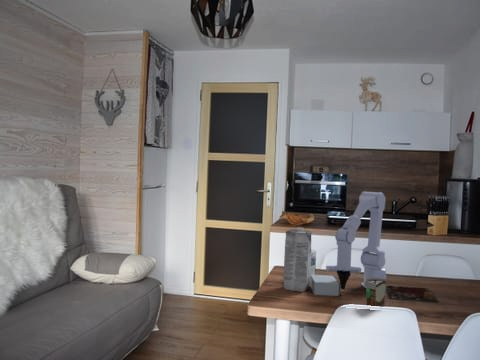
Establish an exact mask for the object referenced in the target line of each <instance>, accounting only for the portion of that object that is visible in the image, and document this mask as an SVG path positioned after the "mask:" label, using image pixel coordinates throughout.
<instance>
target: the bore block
mask: <svg viewBox="0 0 480 360" xmlns="http://www.w3.org/2000/svg"><path fill="white" fill-rule="evenodd" d="M309 287H310V289H311V291H312V293H313V294H314V296H332V297H340V294H341V293H340V281H339V279H337V278H336V276H334V275H325V274H323V275H321V274H315V275H311V278H310V282H309Z"/></svg>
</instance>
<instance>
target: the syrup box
mask: <svg viewBox="0 0 480 360" xmlns="http://www.w3.org/2000/svg"><path fill="white" fill-rule="evenodd" d="M316 261H317V251H316V250H315V249H311V262H310V278H311V275H316V266H317V264H316V263H317V262H316ZM309 283H310V281H309Z"/></svg>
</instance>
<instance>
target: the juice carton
mask: <svg viewBox="0 0 480 360" xmlns="http://www.w3.org/2000/svg"><path fill="white" fill-rule="evenodd" d="M284 239H285V240H284V241H285V242H284V259H283V261H284V262H283V287H284V290H287V291H292V292H299V293H304V292H305V291H306V290H308V288H309V286H310V282H309V281H310V262H311V250H312V232H311V230H304V227H296V229H294V228H293V229H289V230H286V231H285V238H284Z"/></svg>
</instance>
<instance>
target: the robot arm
mask: <svg viewBox="0 0 480 360" xmlns="http://www.w3.org/2000/svg"><path fill="white" fill-rule="evenodd" d="M358 201H359V203H358V205H357V206H356V208H355V211H354V212H353V214H352V215H349V216H348V217H347V219H346V221H345V222H344V224H343V225H342V227H341V228H339V229H337V230H336V232H335V235H334V236H335V237H334V238H335V240H336V245H337V253H336V254H337V256H336V257H337V258H336V260H337V261H336V265H326V266H325V271H326V272H336V274H337V277H338V281H339V283H340V284H341V290H345V288H346V285H347V282H348V280H349V278H350V277H351V273H359V274H361V273H362V268H361V267H359V266H357V267H356V266H351V265H352V245H353V244H352V243H353V242H355V239H356V234H357V231H358V230H359V229H358V228H359V227H360V225H361V223H362V220H361V219H362V218H363V216H364V215H365V214H366V212H368V211H369V212H370V216H369V218H370V219H369V226H368V227H369V228H368V241H367V245H366V246H365V247H364V248H363V249H362V253H361V255H360V262H361V264H362V267H363V282H361V283H360V284H361V286H363V288H365V289H366V286H365V281H366V280H367V279H369V278H381V279H387V272H386V271H387V270H386V268H384V266H385V265H386V255H385V251H384V250H383V249H382V248H381V247H380V244H381V235H382V234H381V233H382V224H383V215H384V214H383V212H384V211H385V208H386V196H385V194H384V193H383V192H382V191H379V192H376V191H375V192H374V191H366V190H365V191H362V192H361V193H360V195H359V198H358Z"/></svg>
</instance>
